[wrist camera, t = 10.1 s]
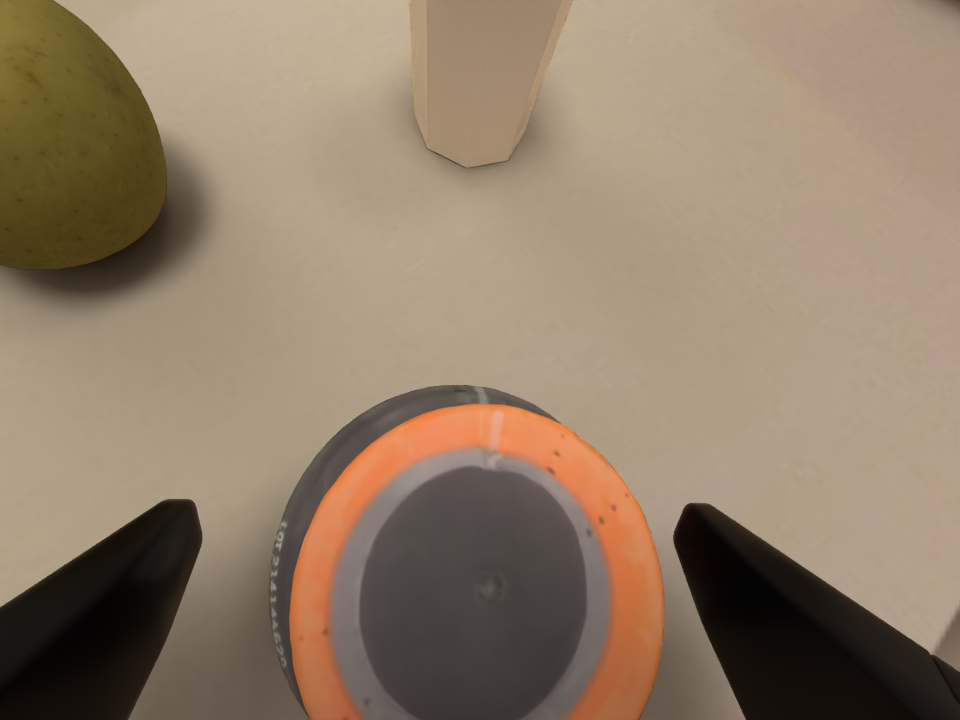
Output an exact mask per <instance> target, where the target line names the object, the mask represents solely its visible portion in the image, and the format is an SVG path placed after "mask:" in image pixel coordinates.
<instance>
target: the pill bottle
mask: <svg viewBox="0 0 960 720" xmlns="http://www.w3.org/2000/svg"><path fill="white" fill-rule="evenodd" d="M269 604H270V619H271V626H272V633H273V638H274V643H275V647H276V650H277V654H278V657H279V661H280V663H281V666H282V669H283V672H284V675H285V677H286V679H287V681H288V684H289V686H290V688H291V690H292V692H293V693H294V695H295V697H296V699H297V700H298V702H299V703H300V705H301V707H302V708H303V710H304V711H305V713H306V714H307V716H308V717H309V718H310V720H639V719H640V717H641V714H642V712H643V710H644V707H645V705H646V703H647V700H648V698H649V695H650V693H651V690H652V688H653V685H654V682H655V679H656V675H657V671H658V667H659V662H660V655H661V648H662V642H663V629H664V592H663V581H662V575H661V569H660V565H659V561H658V556H657V552H656V548H655V545H654V542H653V539H652V536H651V533H650V530H649V527H648V524H647V521H646V518H645V516H644V514H643V512H642V510H641V508H640V505H639V503H638V502H637V501H636V499H635V498H634V496H633V495H632V493H631V492H630V490H629V488H628V487H627V485H626V484H625V482H624V481H623V479H622V478H621V476H620V475H619V474H618V473H617V471H616V470H615V469H614V468H613V467H612V465H611V464H610V463H609V462H608V461H607V460H606V459H605V457H604V456H603V455H602V454H600V453H599V452H598V451H597V450H596V449H595V448H594V447H593V446H592V445H590V444H589V443H587V442H586V441H585V440H583V439H582V438H580V437H579V436H578V435H577V434H575V433H574V432H573V431H571V430H570V429H569V428H568V427H566V426H564V425H562V424H561V423H560V422H559V421H557V420H556V419H555V418H553V417H552V416H551V415H550V414H548V413H546V412H545V411H543V410H542V409H540V408H539V407H537V406H536V405H534V404H532V403H529V402H527V401H525V400H523V399H521V398H518V397H516V396H513V395H510V394H508V393H505V392H502V391H498V390H495V389H490V388H485V387H476V386H468V385H443V386H434V387H427V388H424V389H419V390H414V391H411V392H408V393H405V394H402V395H399V396H396V397H393V398H391V399H388V400H386V401H384V402H382V403H380V404H378V405H376V406H374V407H372V408H371V409H369V410H367V411H366V412H364V413H363V414H361V415H359V416H358V417H357V418H355V419H354V420H353V421H351V422H350V423H349V424H347V425H346V426H345V427H343V428H342V429H341V430H340V431H339V432H338V433H337V434H336V435H335V436H334V437H333V438H332V439H330V441H329V442H328V443H327V444H326V445H325V446H324V447H323V449H322V450H321V451H320V452H319V453H318V454H317V455H316V457H315V458H314V460H313V461H312V462H311V464H310V465H309V467H308V468H307V469H306V471H305V472H304V473H303V475H302V477H301V479H300V480H299V482H298V484H297V486H296V488H295V490H294V491H293V493H292V495H291V497H290V499H289V502H288V504H287V506H286V509H285V512H284V514H283V517H282V520H281V522H280V525H279V528H278V532H277V535H276V539H275V543H274V549H273V553H272V560H271V568H270V580H269Z"/></svg>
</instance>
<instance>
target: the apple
mask: <svg viewBox="0 0 960 720" xmlns="http://www.w3.org/2000/svg"><path fill="white" fill-rule="evenodd" d="M166 188H167V169H166V163H165V157H164V152H163V147H162V143H161V138H160V135H159V132H158V129H157V125H156V123H155V120H154V118H153V115H152V112H151V110H150V108H149V106H148V104H147V102H146V100H145V98H144V96H143V94H142V92H141V90H140V88H139V87H138V85H137V84H136V82H135V81H134V79H133V78H132V76H131V75H130V73H129V72H128V70H127V69H126V67H125V66H124V64H123V63H122V62H121V60H120V59H119V58H118V57H117V55H116V54H115V53H114V52H113V50H112V49H111V48H110V47H109V46H108V45H107V44H106V43H105V42H104V41H103V40H102V39H101V38H100V37H99V36H98V35H97V34H96V33H95V32H94V31H93V30H92V29H91V28H90V27H89V26H88V25H87V24H85V23H84V22H83V21H82V20H80V19H79V18H78V17H77V16H75V15H74V14H73V13H71V12H70V11H68V10H67V9H65V8H64V7H63V6H61V5H60V4H58V3H56V2H55V1H53V0H0V265H2V266H7V267H11V268H20V269H43V270H45V269H61V268H67V267H74V266H79V265H84V264H87V263H91V262H94V261H97V260H100V259H103V258H105V257H108V256H110V255H112V254H114V253H116V252H118V251H120V250H122V249H124V248H125V247H127V246H129V245H130V244H132V243H133V242H134V241H136V240H137V239H138V238H140V237H141V236H142V235H143V234H144V233H145V232H146V231H147V230H148V229H149V228H150V227H151V226H152V225H153V224H154V222H155V221H156V219H157V218H158V216H159V214H160V211H161V209H162V206H163V203H164V200H165V195H166Z"/></svg>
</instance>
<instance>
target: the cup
mask: <svg viewBox="0 0 960 720" xmlns="http://www.w3.org/2000/svg"><path fill="white" fill-rule="evenodd" d="M572 2H573V0H409V11H410V29H411V48H412V66H413V84H414V115H415V117H416V120H417V123H418V125H419V128H420V131H421V133H422V136H423V139H424V141H425V144H426V147H427V148H428V149H430V150H432V151H434V152H436V153H438V154H440V155H442V156H444V157H446V158H448V159H450V160H452V161H454V162H456V163H458V164H460V165H462V166H464V167H466V168H469V167H475V166H480V165H486V164H491V163H497V162H503V161H508V159H509V158H510V156H511V154H512V153H513V151H514V149H515V148H516V146H517V144H518V143H519V141H520V139H521V138H522V136H523V134H524V133H525V130H526V127H527V124H528V120H529V117H530V114H531V111H532V109H533V106H534V103H535V101H536V98H537V95H538V93H539V90H540V87H541V85H542V82H543V79H544V77H545V74H546V71H547V69H548V66H549V63H550V61H551V58H552V55H553V53H554V50H555V47H556V45H557V42H558V39H559V37H560V34H561V31H562V29H563V26H564V23H565V21H566V18H567V15H568V13H569V10H570V7H571V5H572Z"/></svg>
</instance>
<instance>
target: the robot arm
mask: <svg viewBox="0 0 960 720" xmlns="http://www.w3.org/2000/svg"><path fill="white" fill-rule="evenodd" d="M673 541H674V546H675V549H676V552H677V554H678V557H679V560H680V563H681V566H682V569H683V571H684V574H685V577H686V580H687V583H688V586H689V588H690V591H691V594H692V597H693V600H694V603H695V605H696V608H697V611H698V614H699V616H700V619H701V621H702V624H703V626H704V629H705V631H706V633H707V636H708V638H709V640H710V642H711V644H712V647H713V649H714V651H715V653H716V655H717V657H718V660H719V662H720V664H721V666H722V668H723V671H724V673H725V675H726V677H727V679H728V681H729V684H730V686H731V688H732V690H733V692H734V695H735V697H736V699H737V701H738V703H739V705H740V708H741V710H742V712H743V714H744V716H745V719H746V720H960V672H959V671H957V670H955V669H954V668H953V667H951V666H950V665H948V664H947V663H945V662H944V661H942V660H941V659H939V658H938V657H937V656H935V655H930V653H929V652H928V651H927V650H926V649H924V648H923V647H921V646H920V645H918V644H917V643H915V642H914V641H912V640H911V639H910V638H908V637H907V636H905V635H904V634H902V633H901V632H899V631H898V630H896V629H895V628H893V627H892V626H890V625H889V624H887V623H886V622H884V621H883V620H881V619H880V618H878V617H877V616H875V615H874V614H872V613H871V612H869V611H868V610H866V609H865V608H863V607H862V606H860V605H859V604H857V603H856V602H855V601H853V600H852V599H850V598H849V597H847V596H846V595H844V594H843V593H841V592H840V591H838V590H837V589H835V588H834V587H832V586H831V585H829V584H828V583H826V582H825V581H823V580H822V579H820V578H819V577H817V576H816V575H814V574H813V573H811V572H810V571H808V570H807V569H805V568H804V567H802V566H801V565H799V564H798V563H797V562H795V561H794V560H792V559H791V558H789V557H788V556H786V555H785V554H783V553H782V552H780V551H779V550H777V549H776V548H774V547H773V546H771V545H770V544H768V543H767V542H765V541H764V540H762V539H761V538H759V537H758V536H756V535H755V534H753V533H752V532H750V531H749V530H747V529H746V528H744V527H743V526H741V525H740V524H739V523H737V522H736V521H734V520H733V519H731V518H730V517H728V516H727V515H725V514H724V513H722V512H721V511H719V510H718V509H716V508H715V507H713V506H712V505H710V504H706V503H689V504H687V505H686V506H685V507H684V509H683V511H682V514H681V516H680V519H679V521H678V523H677V526H676V528H675V531H674V535H673ZM201 544H202V530H201V526H200V521H199V517H198V513H197V509H196V505H195V503H194V502H193V501H192V500H189V499H167V500H164V501H162V502H160V503H158V504H157V505H155V506H154V507H152V508H151V509H149V510H148V511H146V512H145V513H143V514H142V515H140V516H139V517H137V518H136V519H134V520H132V521H131V522H129V523H128V524H126V525H125V526H123V527H122V528H120V529H119V530H117V531H116V532H114V533H113V534H111V535H110V536H108V537H107V538H105V539H104V540H102V541H101V542H99V543H97V544H96V545H94V546H93V547H91V548H90V549H88V550H87V551H85V552H84V553H82V554H81V555H79V556H78V557H76V558H75V559H73V560H72V561H70V562H69V563H67V564H66V565H64V566H62V567H61V568H59V569H58V570H56V571H55V572H53V573H52V574H50V575H49V576H47V577H46V578H44V579H43V580H41V581H40V582H38V583H37V584H35V585H34V586H32V587H30V588H29V589H27V590H26V591H24V592H23V593H21V594H20V595H18V596H17V597H15V598H14V599H12V600H11V601H9V602H8V603H6V604H5V605H3V606H2V607H0V720H128V718H129V716H130V714H131V712H132V710H133V708H134V706H135V704H136V702H137V700H138V698H139V696H140V694H141V692H142V690H143V688H144V686H145V684H146V682H147V680H148V677H149V675H150V673H151V671H152V669H153V667H154V665H155V663H156V661H157V659H158V657H159V655H160V653H161V650H162V648H163V646H164V644H165V642H166V639H167V637H168V634H169V632H170V629H171V627H172V624H173V621H174V619H175V616H176V613H177V610H178V608H179V605H180V602H181V600H182V597H183V594H184V592H185V589H186V586H187V583H188V581H189V578H190V575H191V573H192V570H193V567H194V564H195V562H196V559H197V556H198V554H199V551H200V548H201Z"/></svg>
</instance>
